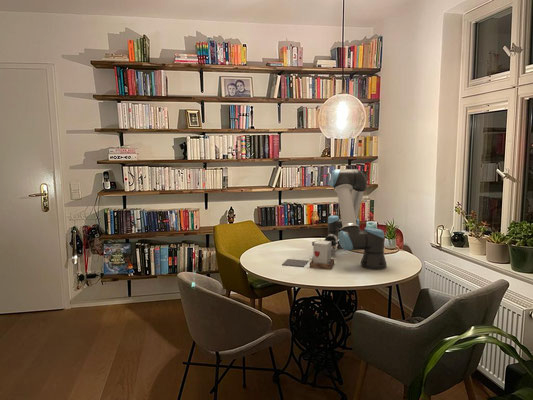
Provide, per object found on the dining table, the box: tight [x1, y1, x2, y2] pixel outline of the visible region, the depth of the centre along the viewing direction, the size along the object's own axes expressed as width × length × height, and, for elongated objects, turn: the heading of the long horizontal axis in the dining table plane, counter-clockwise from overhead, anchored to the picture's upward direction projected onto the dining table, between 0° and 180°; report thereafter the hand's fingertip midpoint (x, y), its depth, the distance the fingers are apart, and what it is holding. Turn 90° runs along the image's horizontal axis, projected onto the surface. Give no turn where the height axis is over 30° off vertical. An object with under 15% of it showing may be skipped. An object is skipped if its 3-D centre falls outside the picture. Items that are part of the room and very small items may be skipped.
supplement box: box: [312, 239, 332, 264], centre depth 231 cm, size 9×9×15 cm
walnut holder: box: [309, 258, 335, 270], centre depth 231 cm, size 13×13×3 cm
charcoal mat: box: [281, 258, 310, 268], centre depth 237 cm, size 14×13×1 cm
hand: (325, 247), depth 240 cm, fingers open, 13 cm apart
